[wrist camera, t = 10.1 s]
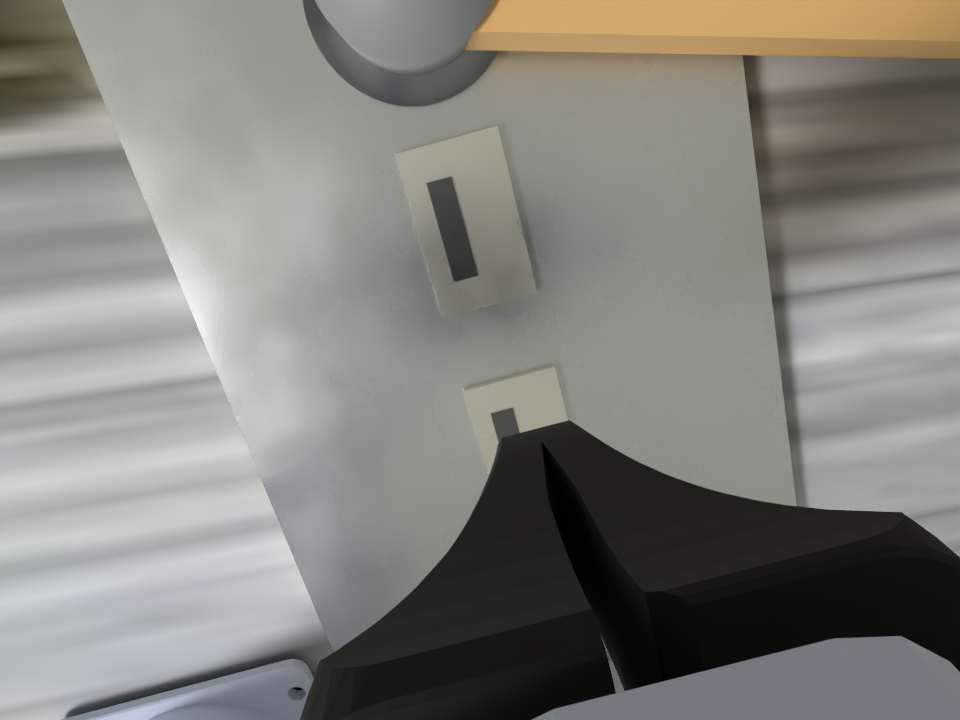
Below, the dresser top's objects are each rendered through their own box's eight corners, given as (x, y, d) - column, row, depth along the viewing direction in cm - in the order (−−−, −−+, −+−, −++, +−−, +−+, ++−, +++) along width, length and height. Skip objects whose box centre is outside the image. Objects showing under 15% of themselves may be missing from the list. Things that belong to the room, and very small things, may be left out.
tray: (789, 520, 20) (807, 540, 19) (337, 640, 21) (332, 665, 20) (699, -199, 14) (718, -222, 14) (65, -21, 15) (40, -31, 14)
